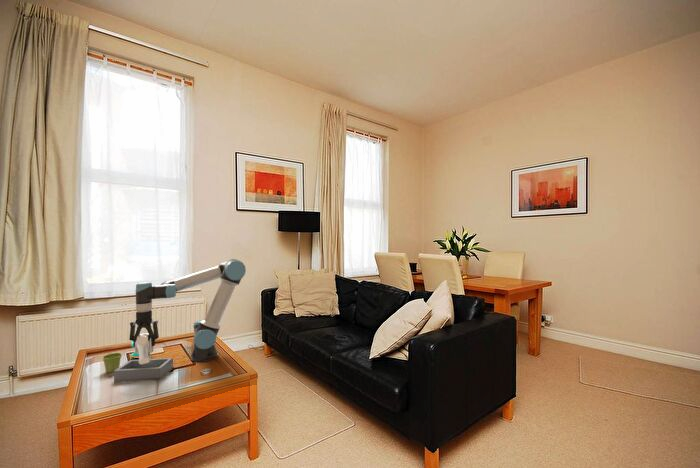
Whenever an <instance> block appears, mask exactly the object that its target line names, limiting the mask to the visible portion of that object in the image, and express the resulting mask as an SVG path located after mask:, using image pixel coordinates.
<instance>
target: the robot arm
mask: <svg viewBox="0 0 700 468" xmlns="http://www.w3.org/2000/svg"><path fill="white" fill-rule="evenodd" d="M246 270H247V269H246V265H245V263H244V262H243V261H241V260H239V259H236V258H235V259H234V258H233V259H229V260H227V261H225V262H224V261H223V262H222V263H219V264H217V265H216V266H214V267H211V268H208V269H204V270H201V271H198V272H194V273H191V274H187V275H185V276H182V277H179V278H175V279H173V280H172V279H171V280H169V281H164V282H162V283H160V285H159V284H158V285H153V283H152V282H151V281H144V282H143V281H142V282H138V283H136V285H135V318H136V319H135V320H134V321H131V322H130V323H129V326H130V331H129V339H128V341H130V342H131V341H132V342H133V347H135V348H134V352H135V354H137V353H138V351H137V346H136V336H138V335H140V333H141V331H142V329H146V331H147V333H148V334H149V336H150V339H151V340H150V341H149V345H150V354H151V353H153V352H154V347H155V345H156V340H158V339H159V338H160V336H159V328H158V323H159V321H158V320H154V319H153V300H158V299H159V300H160V299H161V300H162V299H171V298H175V297H177V293H178V292H180V291H183V290H187V289H189V288H193V287H195V286H199V285H202V284H205V283H208V282H212V281H214V280H218V279H220V280H221V282H220V284H219V286H218V288H217V290H216V293H215V295H214V297H213V299H212V302H211V304H210V306H209V309H207V310H208V311H207V313H206V315H205V317H204V319H203V320H198V321H195V322H194V323H193V349H192V352H191V355H190V360H191V361H192V362H195V363H197V362H198V363H199V362H202V363H203V362H207V361H212V360H214V359H216V358H217V357H218V350H217V347H216V345H215V344H216V342H217V335H218V334H219V331H220V328H221V327H220V323H221V320H222V317H223V315H224V313H225V312H226V309H227V306H228V305H229V302H230V299H231V297H232V295H233V292H234V290H235V288H236V287H237V286H239V285H240V283H241V280H242V279H243V278H244V276H246V272H247V271H246ZM136 325H137V327H136ZM133 347H132V348H133Z"/></svg>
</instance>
